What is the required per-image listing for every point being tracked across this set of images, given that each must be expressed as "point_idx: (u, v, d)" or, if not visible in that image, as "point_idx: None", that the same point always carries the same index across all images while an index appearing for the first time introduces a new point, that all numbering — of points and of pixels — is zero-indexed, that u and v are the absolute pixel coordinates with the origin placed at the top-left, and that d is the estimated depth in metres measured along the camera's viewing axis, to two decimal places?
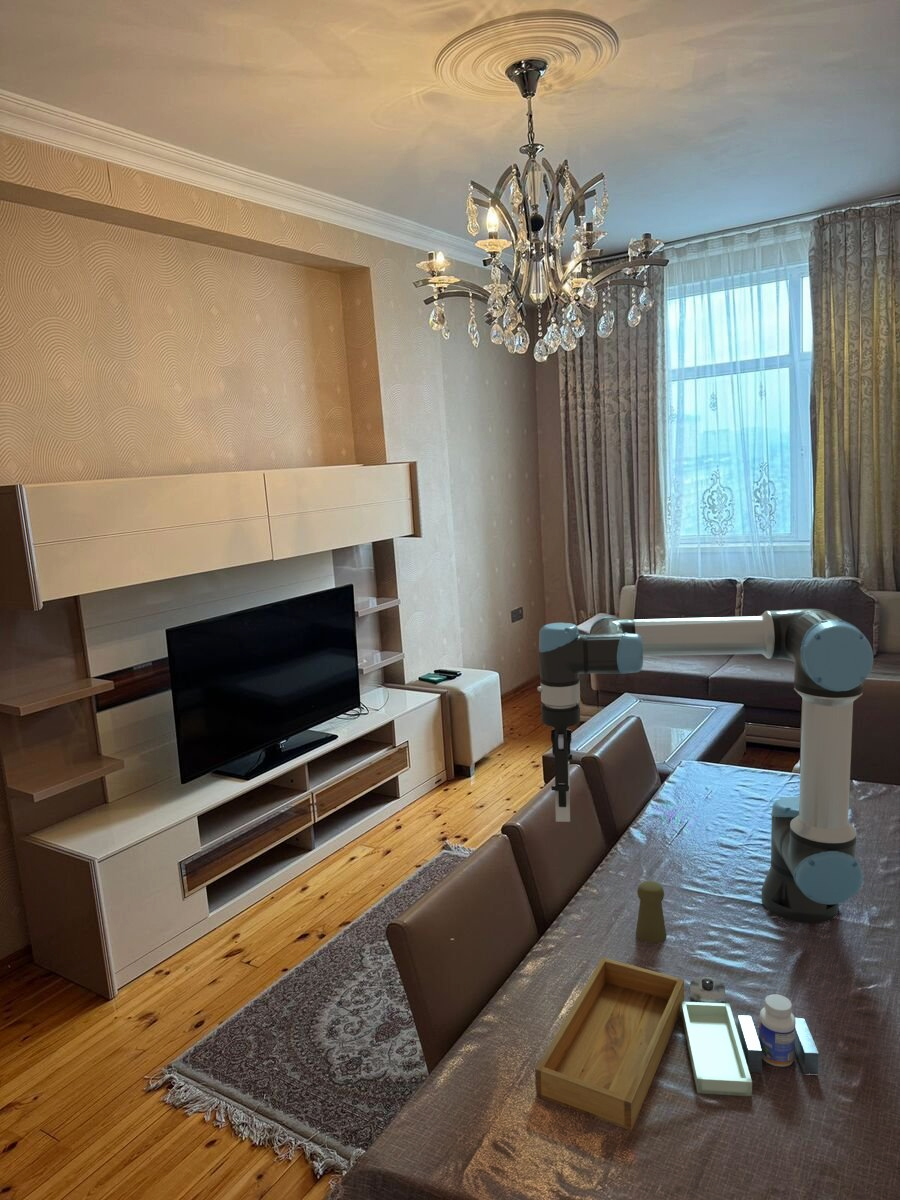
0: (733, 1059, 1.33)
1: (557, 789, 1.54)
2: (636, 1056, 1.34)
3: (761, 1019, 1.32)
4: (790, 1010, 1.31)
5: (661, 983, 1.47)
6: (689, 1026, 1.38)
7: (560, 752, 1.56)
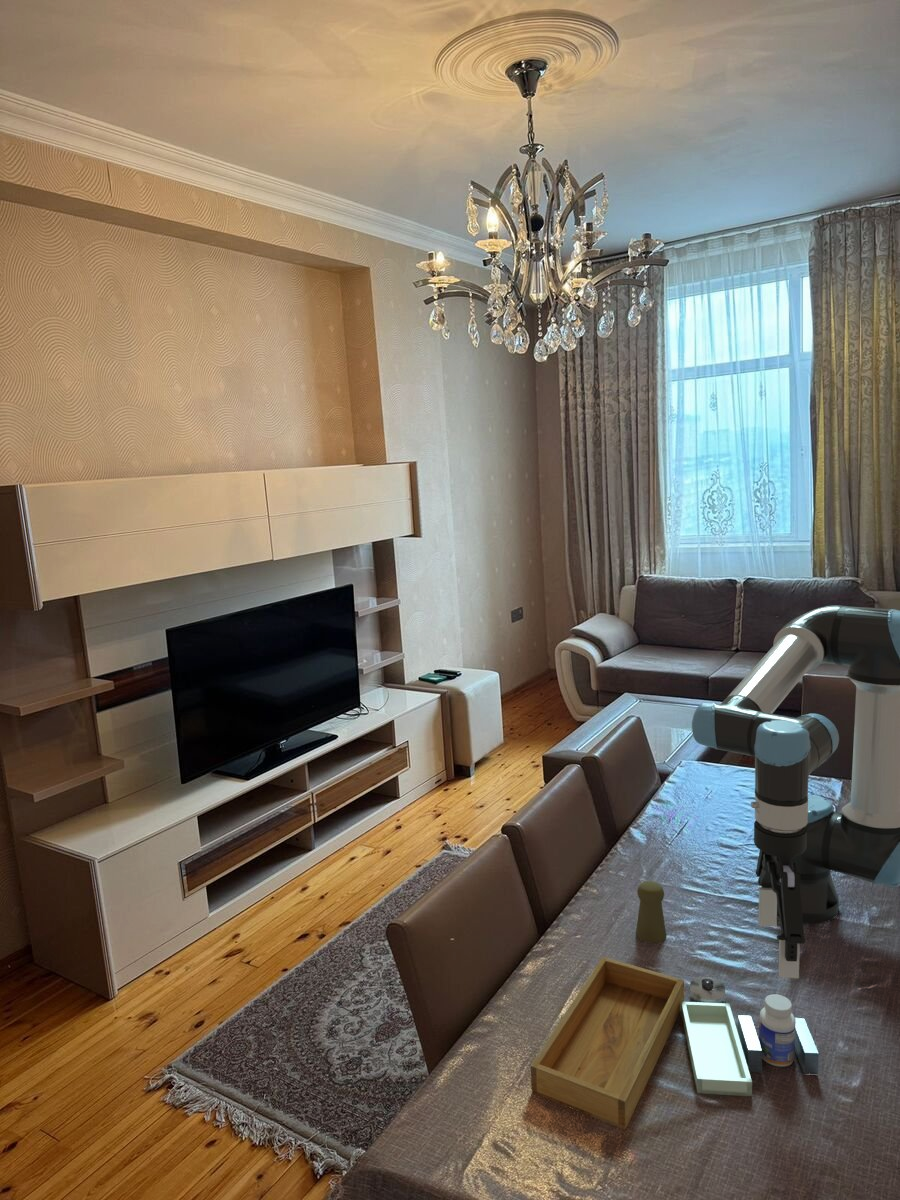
0: (733, 1059, 1.33)
1: (789, 941, 1.20)
2: (633, 1055, 1.34)
3: (761, 1019, 1.32)
4: (790, 1010, 1.31)
5: (661, 983, 1.47)
6: (689, 1026, 1.38)
7: (790, 892, 1.21)
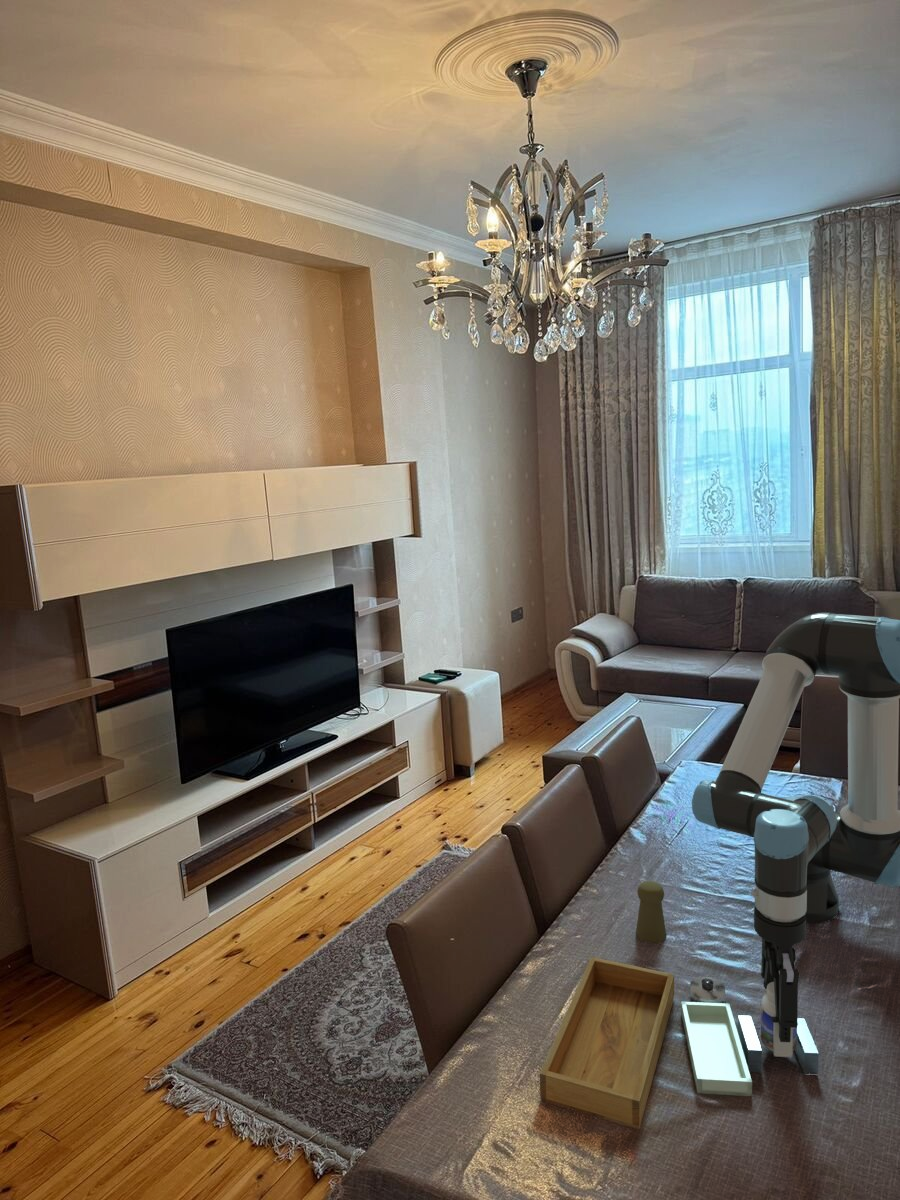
0: (733, 1059, 1.33)
1: (783, 1025, 1.26)
2: (634, 1053, 1.35)
3: (763, 1006, 1.32)
4: None
5: (652, 979, 1.48)
6: (689, 1026, 1.38)
7: (788, 986, 1.25)
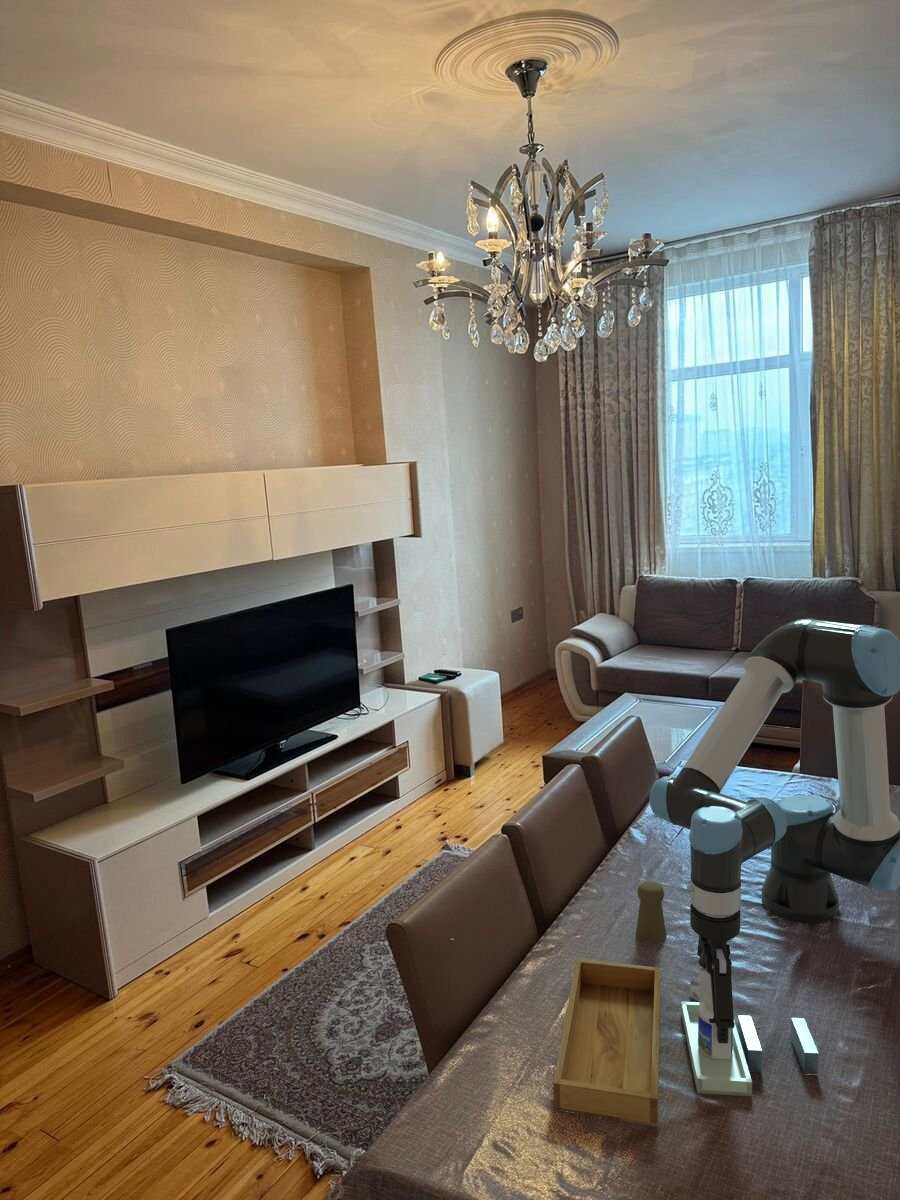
0: (733, 1059, 1.33)
1: (720, 1026, 1.24)
2: (636, 1051, 1.35)
3: (699, 1013, 1.34)
4: None
5: (639, 975, 1.50)
6: (689, 1026, 1.38)
7: (722, 978, 1.25)
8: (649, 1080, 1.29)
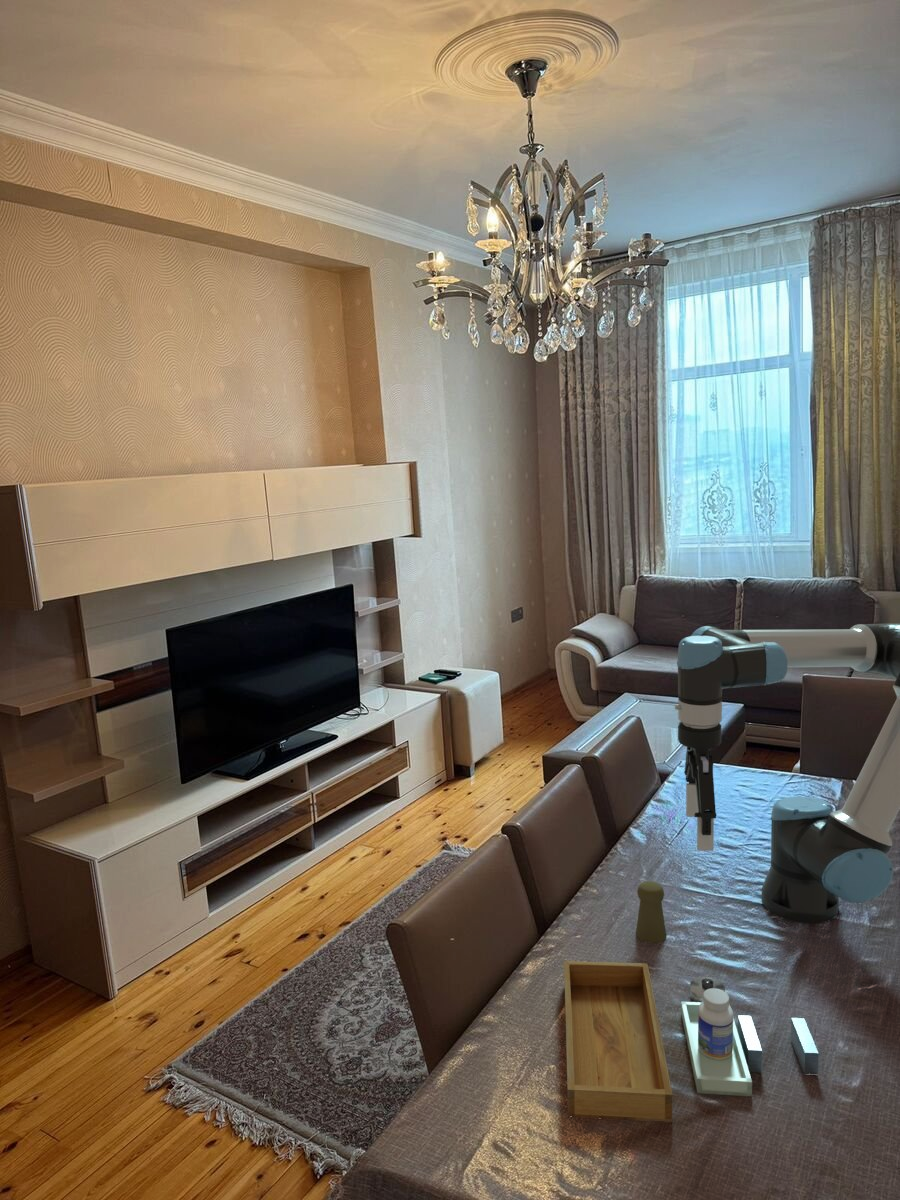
0: (733, 1059, 1.33)
1: (703, 816, 1.43)
2: (637, 1048, 1.36)
3: (699, 1013, 1.34)
4: (727, 1004, 1.32)
5: (627, 972, 1.51)
6: (689, 1026, 1.38)
7: (705, 776, 1.44)
8: (655, 1077, 1.30)
